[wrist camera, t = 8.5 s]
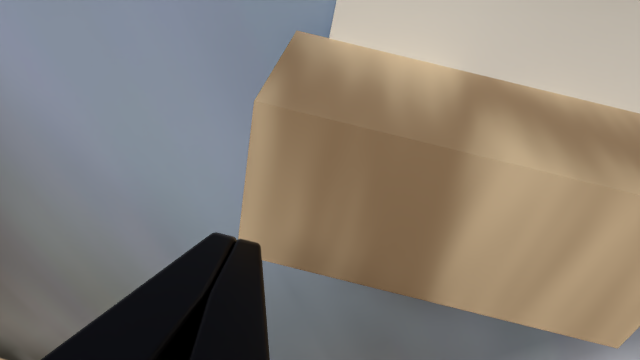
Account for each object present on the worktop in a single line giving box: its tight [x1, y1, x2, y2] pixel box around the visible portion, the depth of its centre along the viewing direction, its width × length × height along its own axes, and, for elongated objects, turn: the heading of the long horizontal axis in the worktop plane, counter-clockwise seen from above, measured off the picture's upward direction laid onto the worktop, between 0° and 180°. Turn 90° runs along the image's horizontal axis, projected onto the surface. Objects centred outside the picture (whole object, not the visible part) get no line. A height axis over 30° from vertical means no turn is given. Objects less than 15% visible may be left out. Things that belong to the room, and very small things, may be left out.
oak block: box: [238, 31, 640, 348], centre depth 11 cm, size 4×4×9 cm
